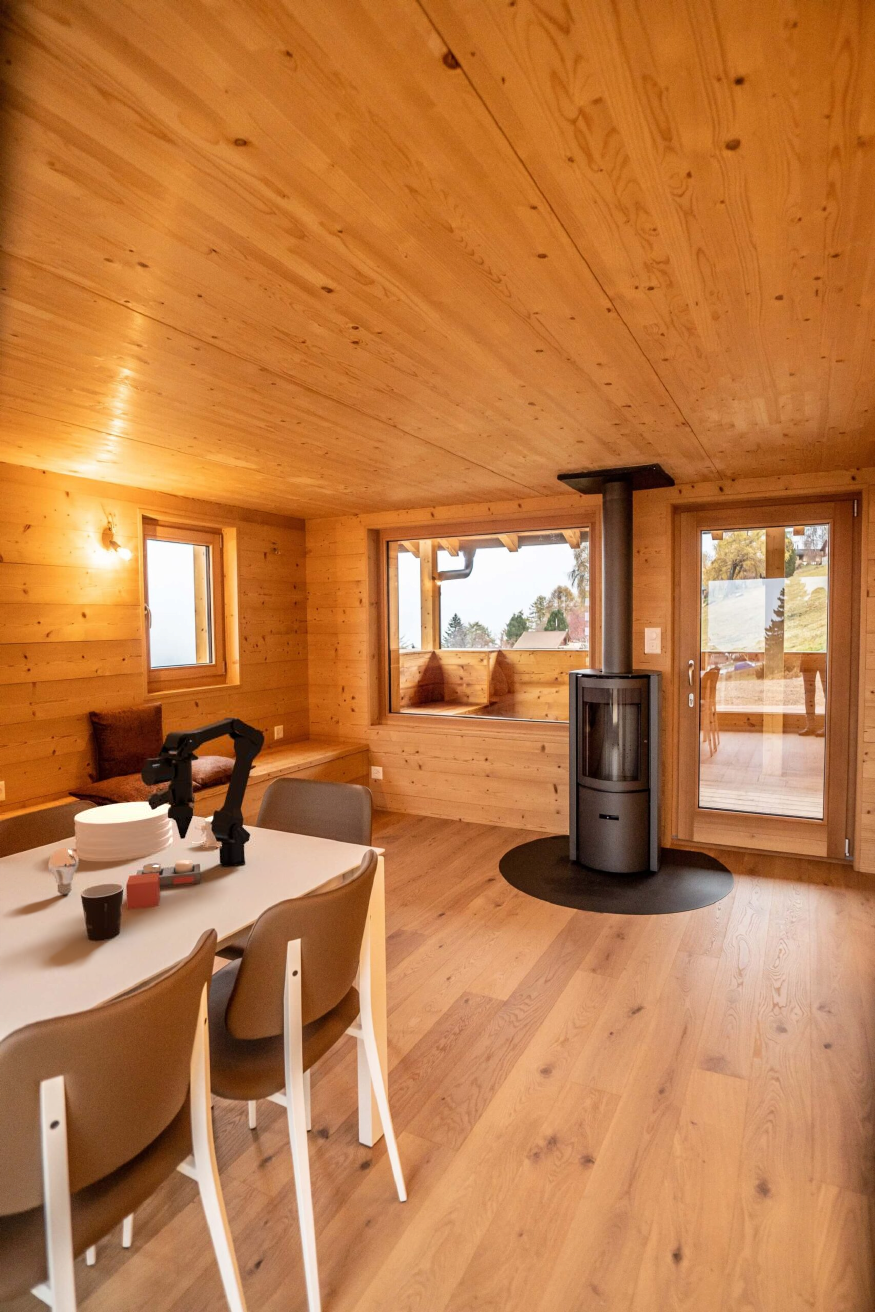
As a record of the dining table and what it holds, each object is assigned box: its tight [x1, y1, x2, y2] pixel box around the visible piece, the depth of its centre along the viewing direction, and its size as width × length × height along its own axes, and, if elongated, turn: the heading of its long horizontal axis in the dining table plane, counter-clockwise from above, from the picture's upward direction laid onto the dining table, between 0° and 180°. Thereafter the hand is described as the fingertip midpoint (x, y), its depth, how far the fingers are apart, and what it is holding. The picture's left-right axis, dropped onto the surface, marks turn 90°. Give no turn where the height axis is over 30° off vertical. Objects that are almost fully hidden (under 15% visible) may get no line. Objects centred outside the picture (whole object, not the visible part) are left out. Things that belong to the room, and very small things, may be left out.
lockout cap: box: [125, 873, 161, 910], centre depth 181 cm, size 7×7×6 cm
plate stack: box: [73, 801, 174, 862], centre depth 230 cm, size 28×28×12 cm
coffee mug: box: [80, 883, 124, 942], centre depth 160 cm, size 12×9×10 cm
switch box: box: [135, 863, 201, 889], centre depth 196 cm, size 16×8×3 cm, turn 107°
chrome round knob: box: [142, 862, 162, 874], centre depth 194 cm, size 4×4×2 cm
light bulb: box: [48, 847, 80, 897], centre depth 188 cm, size 7×7×12 cm
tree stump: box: [191, 815, 221, 848], centre depth 233 cm, size 20×19×8 cm
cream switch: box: [174, 859, 193, 873], centre depth 197 cm, size 4×4×2 cm
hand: (182, 836), depth 197 cm, fingers open, 4 cm apart
